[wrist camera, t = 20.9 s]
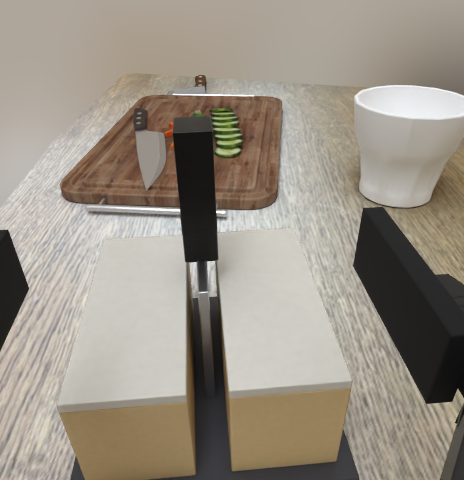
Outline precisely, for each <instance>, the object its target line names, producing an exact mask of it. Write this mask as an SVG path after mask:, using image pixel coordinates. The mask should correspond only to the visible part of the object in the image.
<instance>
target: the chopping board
mask: <svg viewBox="0 0 464 480" xmlns="http://www.w3.org/2000/svg"><path fill="white" fill-rule="evenodd" d="M281 115H282V101H281V100H280V99H278V98H274V97H266V96H254V95H242V94H173V95H151V96H146V97H143V98H141V99H139V100H138V101H137V102H136V103H135V105H134V106H133V107H132V108H131V109H130V110H129V111H128V112H127V113H126V114H125V115H124V116H123V117H122V118H121V119H120V120H119V121H118V122H117V123H116V124H115V125H114V126H113V127H112V128H111V129H110V130H109V132H108V133H107V134H106V135H105V136H104V137H103V138H102V139H101V140H100V141H99V142H98V143H97V144H96V145H95V146H94V147H93V148H92V149H91V150H90V151H89V152H88V153H87V154H86V155H85V156H84V157H83V159H82V160H81V161H80V162H79V163H78V164H77V165H76V166H75V167H74V168H73V169H72V170H71V171H70V172H69V173H68V174H67V175H66V176H65V177H64V178H63V179H62V181H61V183H60V187H61V191H62V194H63V197H64V198H65V199H67V200H69V201H72V202H78V203H98V204H87V205H86V210H87V211H100V212H123V213H146V214H170V215H180V208H174V207H180V206H179V196H178V185H177V175H176V165H175V155H174V144H173V134H172V133H173V120H174V118H175V117H196V116H210V117H211V122H212V129H213V146H214V169H215V191H216V213H217V217H226V216H227V210H222V209H244V210H249V209H260V208H263V207H267V206H269V205H271V204H272V203H274V202H275V200H276V198H277V187H278V169H279V151H280V133H281ZM104 204H123V205H104ZM126 205H147V206H126ZM150 206H171V207H150ZM218 208H219V209H218Z"/></svg>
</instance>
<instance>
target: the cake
mask: <svg viewBox="0 0 464 480" xmlns="http://www.w3.org/2000/svg"><path fill="white" fill-rule="evenodd" d="M217 236H218V258H219V259H218V260H216V261H215V265H216V285H217V297H209V302H210V318H211V334H212V350H213V365H214V381H215V397H209V398H207V397H206V387H205V375H204V362H203V350H202V338H201V326H200V313H199V301H198V298H193V299H192V288H191V277H190V266H189V262H185V257H184V247H183V236H182V235H167V236H151V237H135V238H119V239H105V240H104V242H103V245H102V249H101V252H100V256H99V259H98V263H97V266H96V270H95V273H94V277H93V280H92V284H91V287H90V291H89V294H88V297H87V301H86V304H85V308H84V311H83V315H82V318H81V322H80V325H79V329H78V332H77V336H76V339H75V343H74V346H73V350H72V353H71V357H70V360H69V363H68V367H67V370H66V374H65V377H64V381H63V384H62V388H61V391H60V395H59V398H58V402H57V408H58V411H59V413H60V416H61V419H62V422H63V424H64V427H65V429H66V432H67V434H68V437H69V440H70V442H71V445H72V447H73V450H74V452H75V455H76V458H75V462H74V467H73V471H72V476H71V480H359V476H358V473H357V470H356V467H355V464H354V461H353V457H352V454H351V451H350V448H349V445H348V442H347V439H346V436H345V433H344V430H343V426H344V421H345V416H346V411H347V407H348V402H349V397H350V392H351V387H352V382H353V380H352V377H351V375H350V372H349V369H348V367H347V364H346V362H345V359H344V356H343V354H342V351H341V349H340V346H339V343H338V341H337V338H336V336H335V333H334V330H333V328H332V325H331V323H330V320H329V317H328V315H327V312H326V310H325V307H324V304H323V302H322V299H321V297H320V294H319V291H318V289H317V286H316V284H315V281H314V279H313V276H312V273H311V271H310V268H309V266H308V263H307V260H306V258H305V255H304V253H303V250H302V247H301V245H300V242H299V240H298V237H297V234H296V232H295V229H294V228H280V229H264V230H248V231H231V232H217Z"/></svg>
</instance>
